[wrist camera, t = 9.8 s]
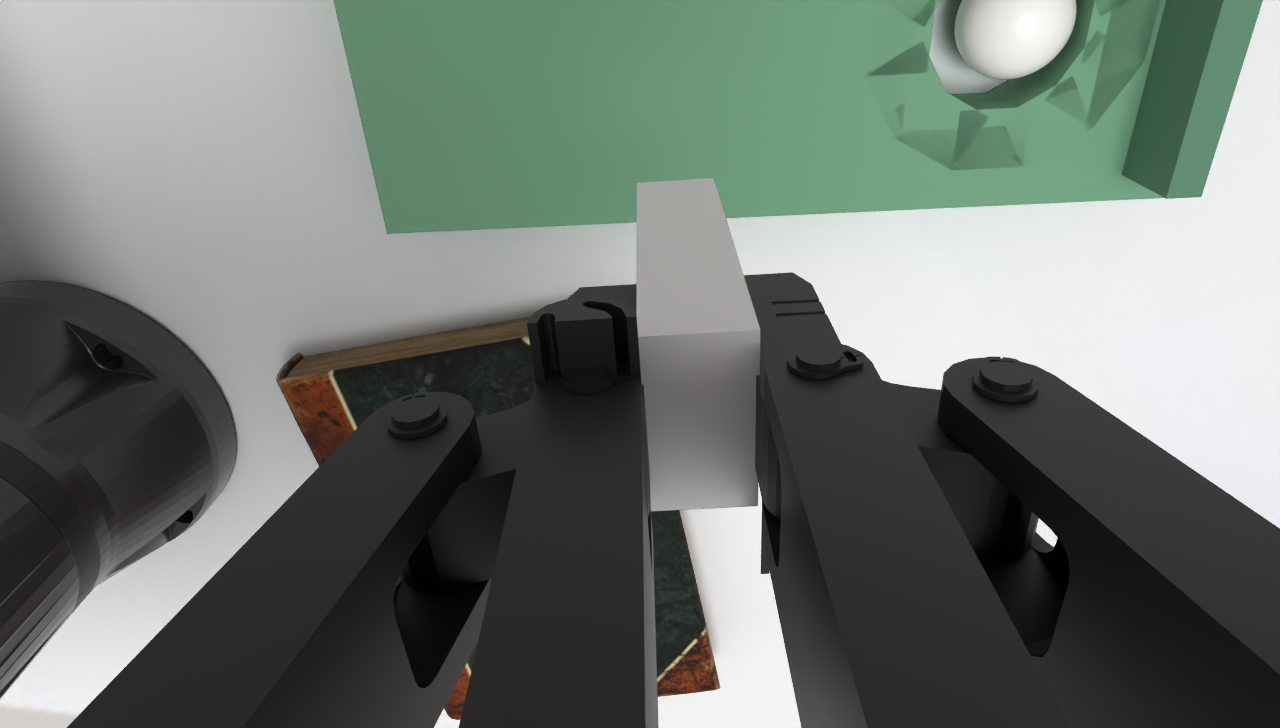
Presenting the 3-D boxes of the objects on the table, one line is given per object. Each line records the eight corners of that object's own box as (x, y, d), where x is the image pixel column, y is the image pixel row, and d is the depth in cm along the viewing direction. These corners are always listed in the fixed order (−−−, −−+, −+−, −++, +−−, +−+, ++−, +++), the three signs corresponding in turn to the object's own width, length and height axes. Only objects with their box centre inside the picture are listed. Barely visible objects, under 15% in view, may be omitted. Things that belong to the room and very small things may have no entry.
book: (717, 643, 48) (637, 286, 36) (721, 692, 45) (634, 320, 33) (456, 674, 50) (298, 347, 38) (442, 724, 47) (266, 384, 35)
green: (408, 210, 34) (214, 424, 19) (334, -137, 28) (-40, -213, 13) (1146, 175, 33) (1550, 379, 18) (1248, -201, 26) (2014, -373, 11)
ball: (1049, 91, 26) (1073, 72, 29) (1074, -39, 24) (1098, -47, 27) (933, 85, 29) (965, 67, 31) (947, -35, 27) (981, -43, 29)
